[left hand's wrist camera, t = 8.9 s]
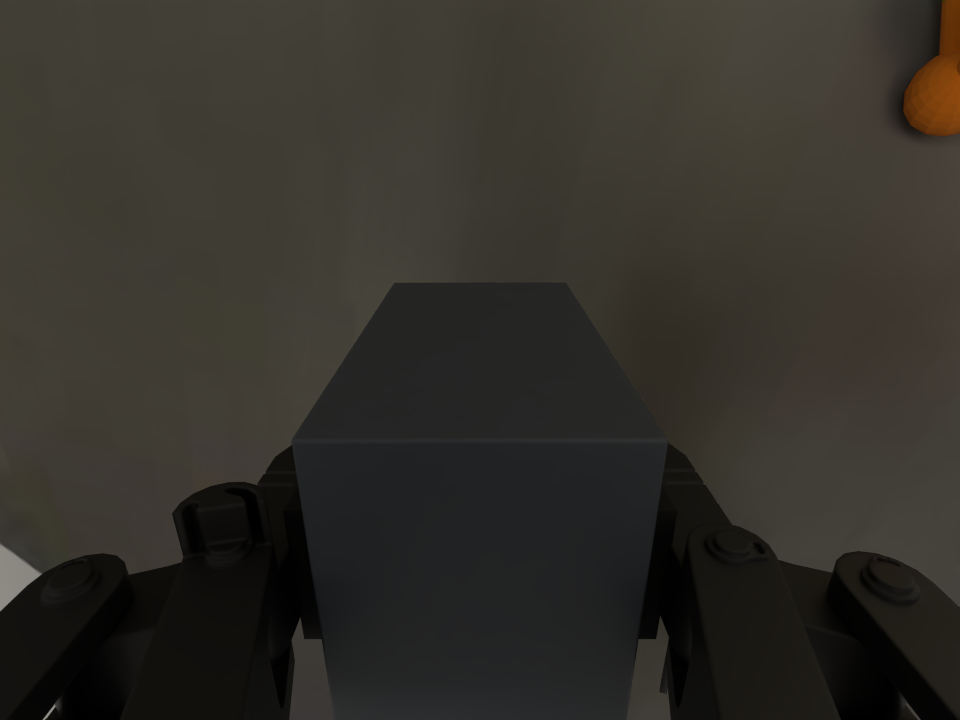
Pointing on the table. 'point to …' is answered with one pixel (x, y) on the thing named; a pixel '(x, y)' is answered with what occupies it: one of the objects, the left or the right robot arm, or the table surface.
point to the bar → (479, 510)
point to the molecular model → (938, 82)
